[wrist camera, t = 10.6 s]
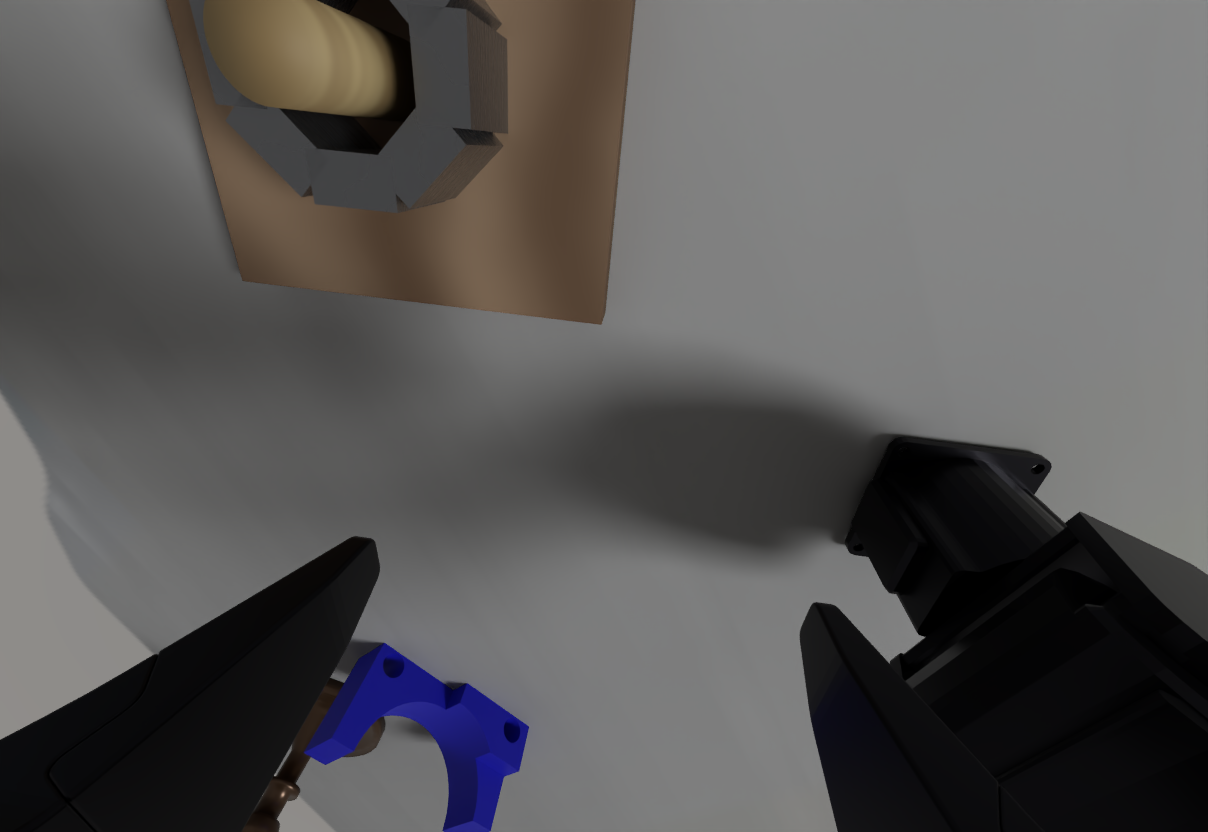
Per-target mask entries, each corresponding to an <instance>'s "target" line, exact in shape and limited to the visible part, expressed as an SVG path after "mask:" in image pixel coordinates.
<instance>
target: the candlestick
mask: <svg viewBox="0 0 1208 832" xmlns="http://www.w3.org/2000/svg"><path fill="white" fill-rule="evenodd" d="M343 685H344V683H342V682H339V681H336V680H334V679H330V678H329V680H328V682H327V684H326V685H325V687H324V689H323V691H322V692H321V694H320V696H319V697H318V699H317V701H316V703H315V704H314V706H313V708H312V710H311V711H310V713H309V715H308V717H307V718H306V720H305V722H304V724H303V725H302V727H301V729H300V731H299V732H298V734H297V736H296V738H295V739H294V741H293V743H292V751H291V753H290V754H289V756H288V757H287V759H286V761H285V762H284V764H283V766H282V767H281V769H280V771H279V772H278V774H277V775H276V776H273V778H272V780H271V781H270V783H269V785H268V787H267V788H266V790H265V792H264V794H263V796H262V797H261V799H260V801H259V802H258V804H257V806H256V807H255V809H254V811H253V813H252V814H251V816H250V818H249V820H248V821H247V823H246V825H245V827H244V828H243V830H242V832H279V827H280V823H279V821H278V820H277V818H278V816H279V814H280V813H281V811H282V809H283V807H284V806H285V804H286V802H287V801H292V800H295V799H296V798H297V797H298V795H299V793H300V788H299V787H298V786H297V785H296V782H297V780H298V778H299V777H300V775H301V773H302V771H303V770H304V768H305V766H306V764H307V763H308V761H309V759H310V758H311V757H310V756H309V755H307V754H305V753H304V751H305V749H306V748H307V746H308V744H309V743H310V741H311V739H312V738H313V736H314V734H315V732H316V731H317V729H318V727H319V726H320V724H321V722H322V721H323V719H324V717H325V715H326V714H327V712H328V710H329V709H330V707H331V705H332V703H333V702H334V700H335V698H336V697H337V695H338V693H339V692H340V690H341V688H342V686H343ZM384 730H385V720H384V716H383V717H380V718H379V719H377V720H376V721H375V722H374V723H373V724H372V725H371V726H370V728H369V729H368V730H367V731H366V733H365V734H364V735H363V737H362V738H361V740H360V741H359V743H358V745H357V746H356V748H355V750H354V751H353V752H351V753H349V754H347V755H345V756H343V757H355V756H360V755H365V754H367V753H369V752H371V751H372V750H373V749H375V748H376V746H377V744H378V743H379V741H380V738H381V736H382V734H383V732H384Z"/></svg>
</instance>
